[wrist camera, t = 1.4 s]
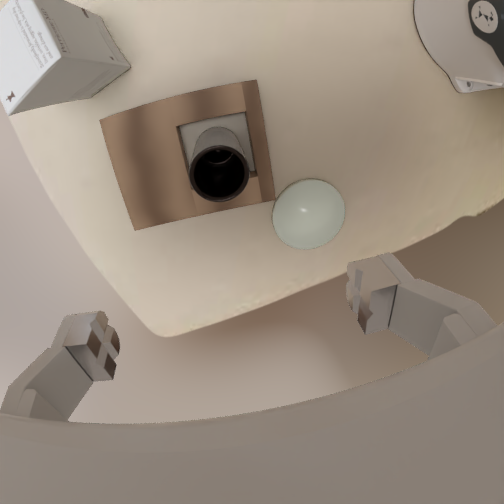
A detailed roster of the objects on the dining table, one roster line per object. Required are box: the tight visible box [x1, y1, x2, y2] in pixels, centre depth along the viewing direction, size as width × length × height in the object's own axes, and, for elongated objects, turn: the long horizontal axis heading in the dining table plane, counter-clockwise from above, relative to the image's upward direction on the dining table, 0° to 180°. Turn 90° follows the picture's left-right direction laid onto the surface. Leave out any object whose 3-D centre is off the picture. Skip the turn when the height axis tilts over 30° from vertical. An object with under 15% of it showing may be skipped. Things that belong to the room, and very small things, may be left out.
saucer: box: [272, 179, 345, 250], centre depth 35 cm, size 9×9×1 cm
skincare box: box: [0, 0, 131, 116], centre depth 16 cm, size 8×6×15 cm
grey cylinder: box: [189, 127, 250, 202], centre depth 26 cm, size 4×4×10 cm
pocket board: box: [100, 80, 276, 231], centre depth 29 cm, size 16×13×2 cm
